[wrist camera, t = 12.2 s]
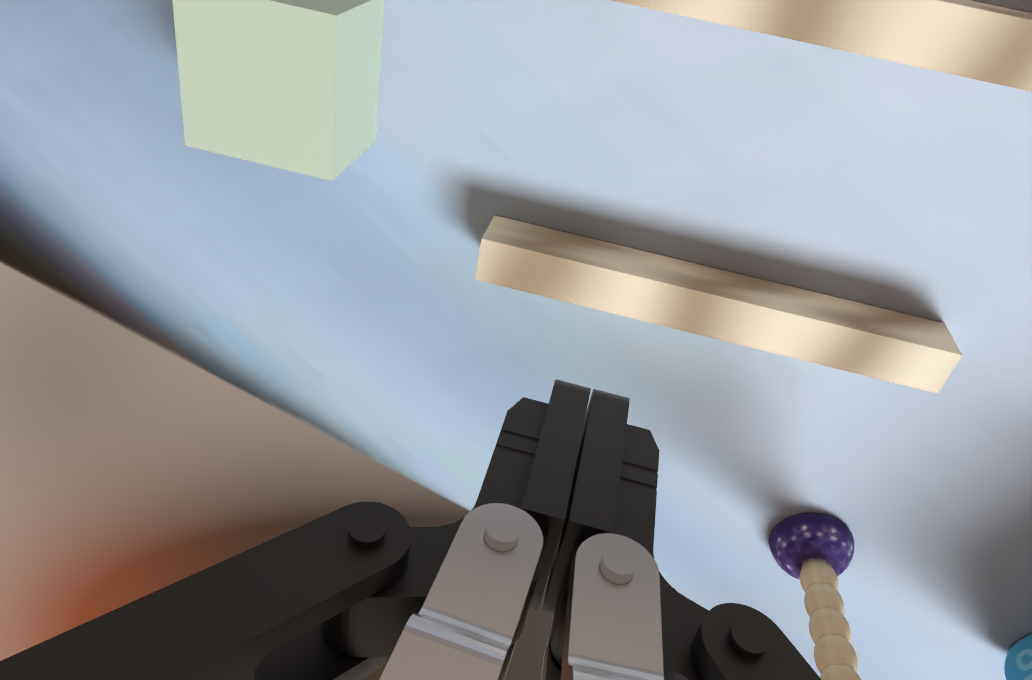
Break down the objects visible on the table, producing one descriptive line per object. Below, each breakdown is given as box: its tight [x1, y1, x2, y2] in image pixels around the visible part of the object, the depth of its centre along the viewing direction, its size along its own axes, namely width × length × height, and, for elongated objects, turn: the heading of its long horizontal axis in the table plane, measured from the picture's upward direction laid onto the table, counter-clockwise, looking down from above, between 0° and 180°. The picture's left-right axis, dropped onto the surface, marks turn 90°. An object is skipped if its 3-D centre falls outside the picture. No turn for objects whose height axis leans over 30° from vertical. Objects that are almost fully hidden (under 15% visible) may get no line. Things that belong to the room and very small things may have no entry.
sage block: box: [172, 0, 385, 181], centre depth 29 cm, size 6×6×5 cm
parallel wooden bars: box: [475, 0, 1032, 393], centre depth 29 cm, size 20×14×2 cm
